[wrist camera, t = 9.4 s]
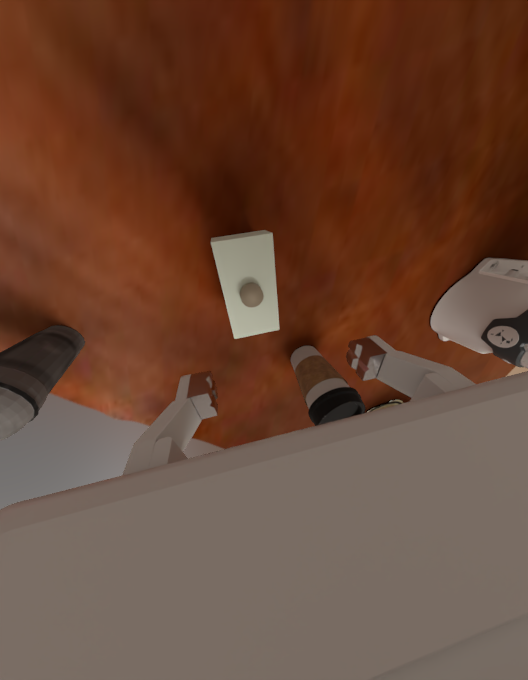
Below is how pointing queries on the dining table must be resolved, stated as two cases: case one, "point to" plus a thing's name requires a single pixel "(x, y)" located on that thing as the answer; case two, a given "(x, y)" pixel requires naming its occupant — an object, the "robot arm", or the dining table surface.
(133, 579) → the robot arm
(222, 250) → the lid
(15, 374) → the beverage cup
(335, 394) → the coffee cup
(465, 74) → the dining table surface
